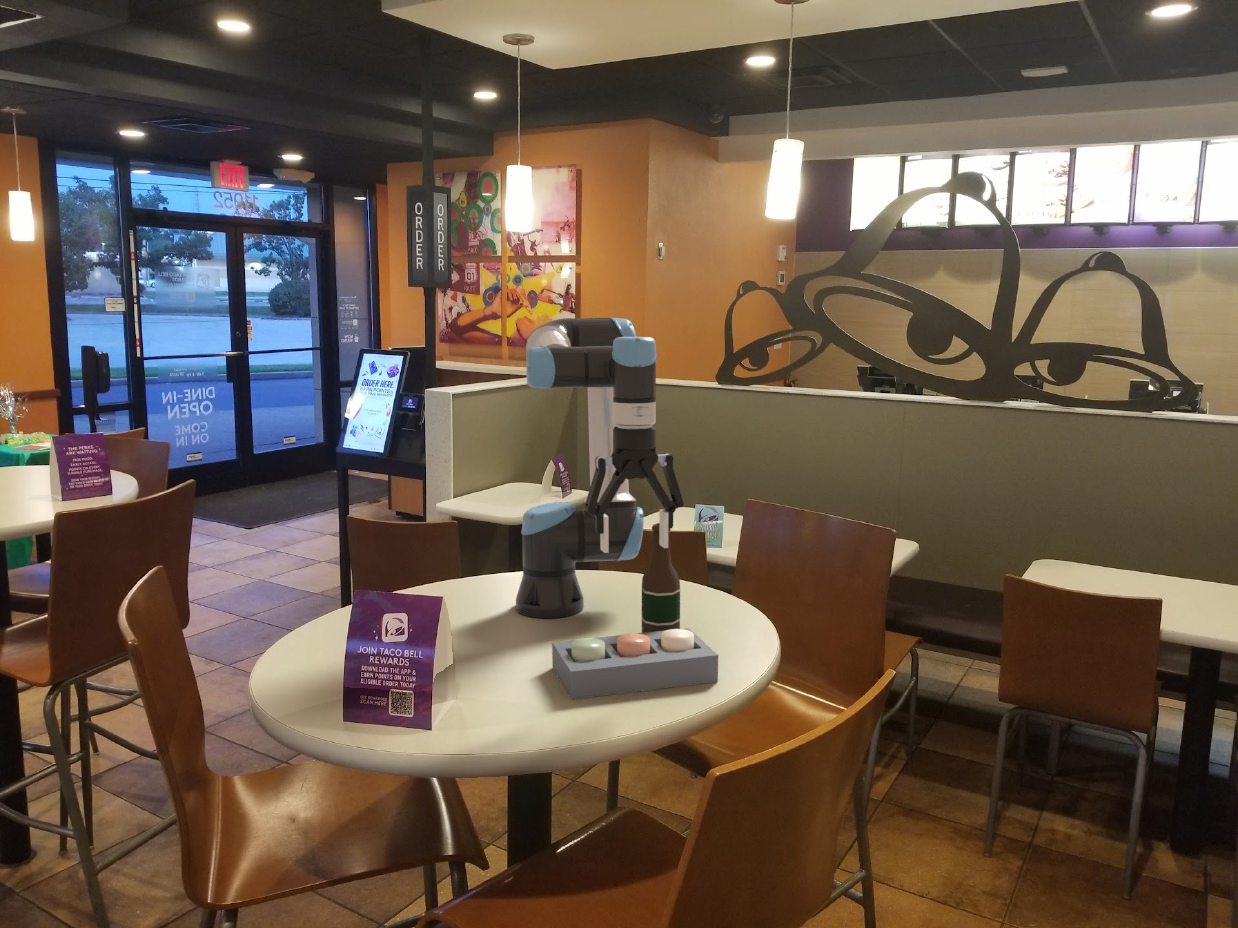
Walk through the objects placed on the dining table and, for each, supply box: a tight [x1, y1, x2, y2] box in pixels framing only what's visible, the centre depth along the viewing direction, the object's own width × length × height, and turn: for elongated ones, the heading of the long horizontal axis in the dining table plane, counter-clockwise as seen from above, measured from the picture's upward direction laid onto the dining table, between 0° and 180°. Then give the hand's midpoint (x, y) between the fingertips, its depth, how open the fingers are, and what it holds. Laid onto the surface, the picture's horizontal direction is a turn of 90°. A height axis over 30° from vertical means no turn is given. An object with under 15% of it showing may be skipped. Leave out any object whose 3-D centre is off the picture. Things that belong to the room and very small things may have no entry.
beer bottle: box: [641, 522, 681, 633], centre depth 188 cm, size 8×8×24 cm
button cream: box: [661, 628, 694, 652], centre depth 174 cm, size 6×6×4 cm
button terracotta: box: [617, 632, 650, 657], centre depth 172 cm, size 6×6×4 cm
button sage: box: [571, 637, 605, 662], centre depth 169 cm, size 6×6×4 cm
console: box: [551, 627, 719, 700], centre depth 172 cm, size 15×27×5 cm, turn 106°
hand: (634, 548), depth 169 cm, fingers open, 10 cm apart
